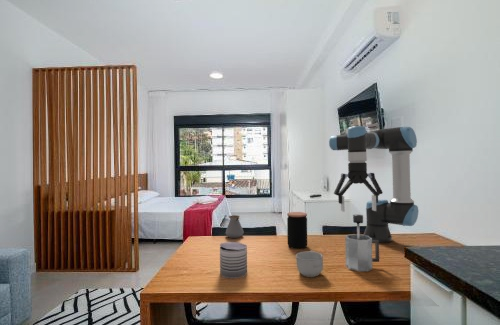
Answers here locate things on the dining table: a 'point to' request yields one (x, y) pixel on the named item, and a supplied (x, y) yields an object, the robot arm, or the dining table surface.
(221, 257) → the can
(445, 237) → the dining table surface
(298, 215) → the coffee jar
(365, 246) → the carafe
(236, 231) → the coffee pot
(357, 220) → the plunger
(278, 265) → the dining table surface
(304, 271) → the teacup
